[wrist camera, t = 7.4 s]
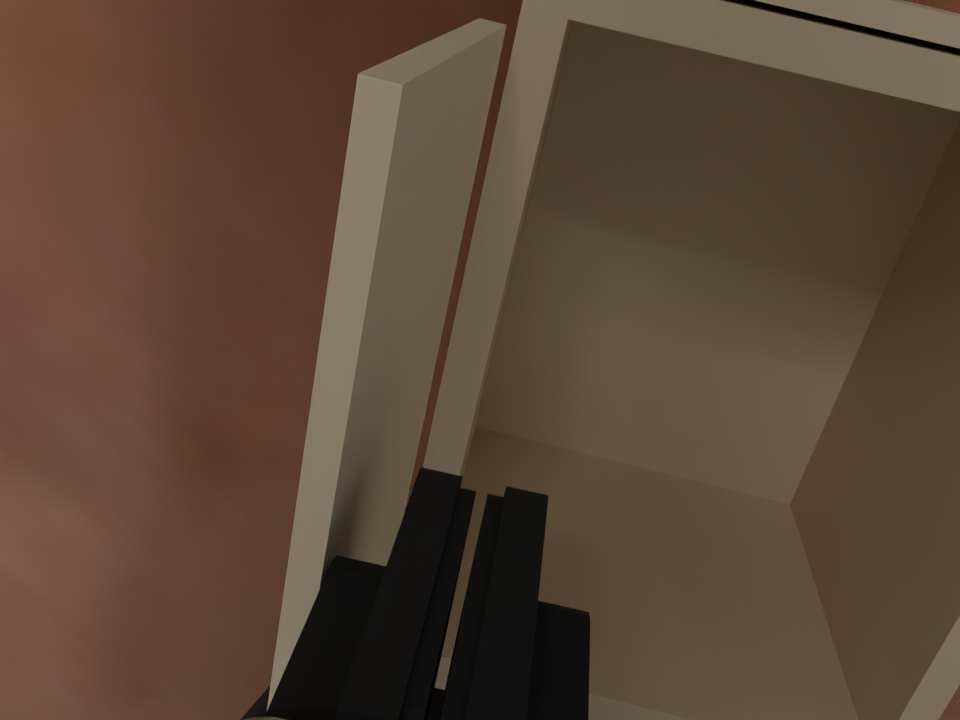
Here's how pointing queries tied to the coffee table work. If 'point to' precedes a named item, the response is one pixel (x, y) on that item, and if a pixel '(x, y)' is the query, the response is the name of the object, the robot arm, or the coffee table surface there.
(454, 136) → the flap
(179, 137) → the coffee table surface
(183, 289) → the coffee table surface
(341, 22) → the coffee table surface
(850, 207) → the shipping box
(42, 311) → the coffee table surface
